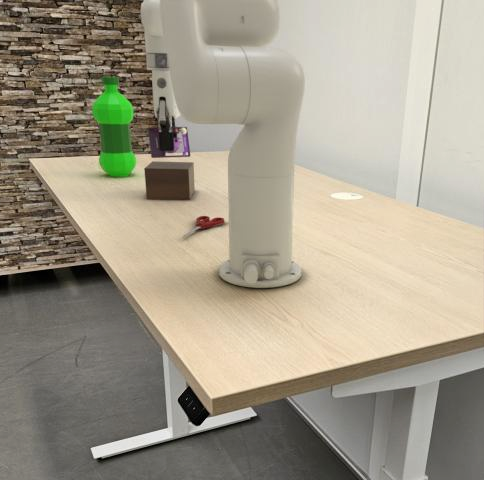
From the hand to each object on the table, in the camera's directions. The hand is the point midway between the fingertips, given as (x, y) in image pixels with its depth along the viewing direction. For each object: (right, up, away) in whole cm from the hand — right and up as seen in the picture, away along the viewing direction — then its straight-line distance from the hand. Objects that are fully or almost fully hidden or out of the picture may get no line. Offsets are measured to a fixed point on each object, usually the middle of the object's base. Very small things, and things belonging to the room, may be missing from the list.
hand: (168, 148), depth 134 cm
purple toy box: (0, -2, +1) cm, 2 cm away
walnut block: (0, -10, +5) cm, 11 cm away
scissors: (+11, -23, -23) cm, 34 cm away
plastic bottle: (-19, 0, +26) cm, 32 cm away
